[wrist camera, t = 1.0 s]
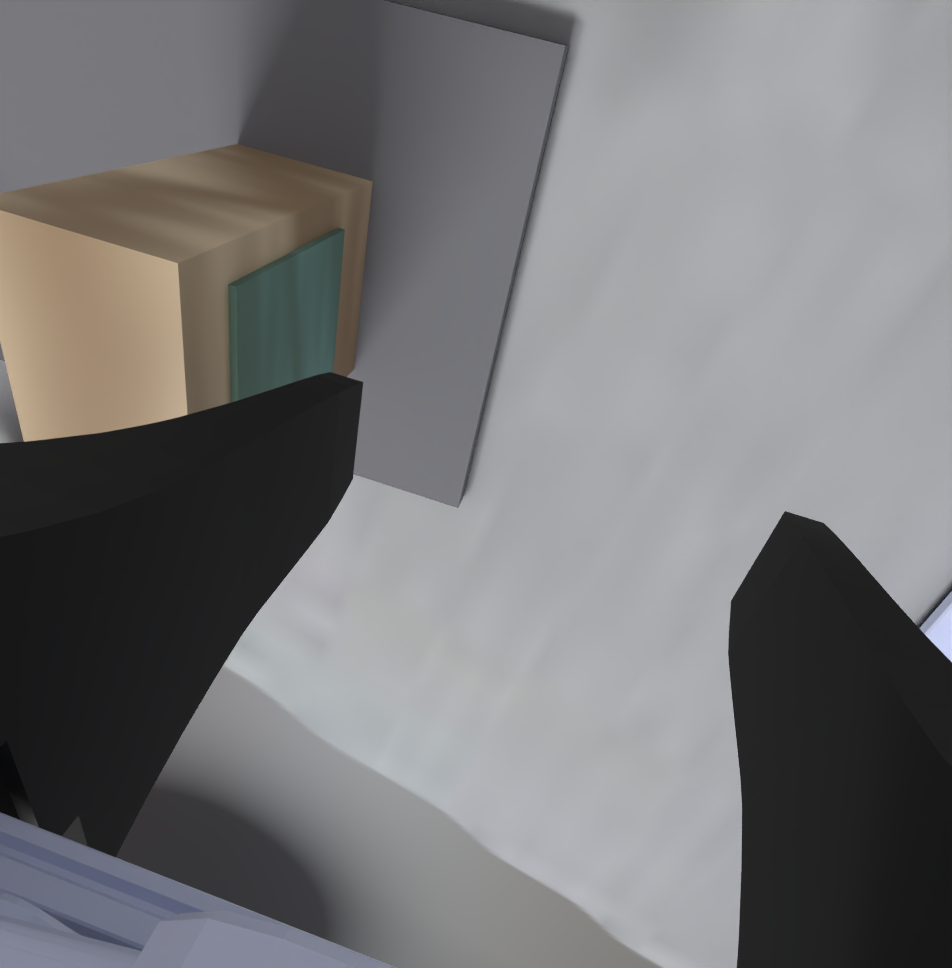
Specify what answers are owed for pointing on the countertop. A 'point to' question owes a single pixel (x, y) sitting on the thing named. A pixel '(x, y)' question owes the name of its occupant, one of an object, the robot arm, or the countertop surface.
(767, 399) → the countertop surface
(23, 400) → the oak block
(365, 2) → the mat
